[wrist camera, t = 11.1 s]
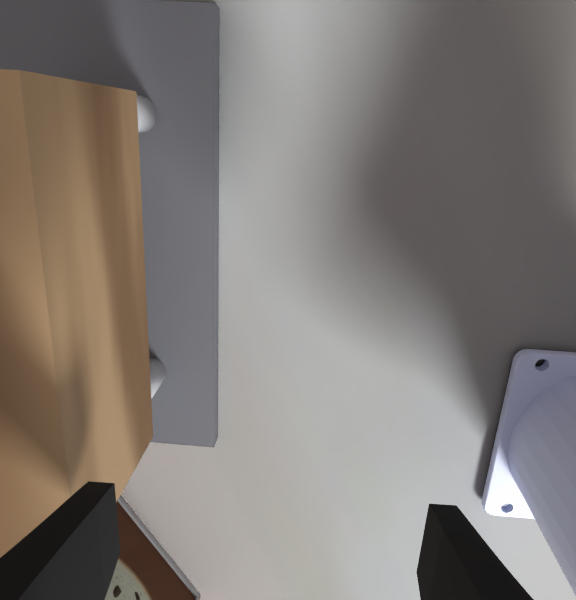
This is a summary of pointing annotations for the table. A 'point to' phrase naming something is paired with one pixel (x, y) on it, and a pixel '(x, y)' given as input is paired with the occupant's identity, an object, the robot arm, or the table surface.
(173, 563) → the food container
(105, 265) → the shelf block
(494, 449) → the robot arm
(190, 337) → the peg plate
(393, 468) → the table surface
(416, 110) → the table surface
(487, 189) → the table surface
